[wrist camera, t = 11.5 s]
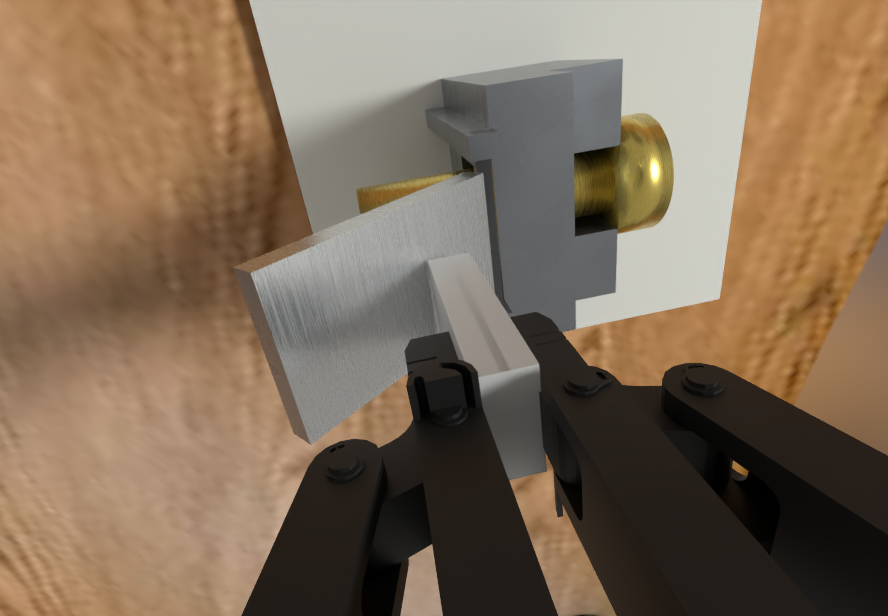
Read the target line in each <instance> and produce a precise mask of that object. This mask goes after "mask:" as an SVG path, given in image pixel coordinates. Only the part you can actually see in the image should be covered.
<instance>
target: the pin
mask: <svg viewBox="0 0 888 616" xmlns="http://www.w3.org/2000/svg"><path fill="white" fill-rule="evenodd" d="M463 172H474V168H470V169H464V170H458V171H453V172H447V173H441V174H436V175H430V176H424V177H419V178H413V179H407V180H401V181H396V182H390V183H384V184H379V185H373V186H367V187H362V188H356V191H357V198H358V204H359V209H360V214H363V213H366V212H368V211H371V210H373V209H376V208H378V207H380V206H383V205H385V204H388V203H390V202H393V201H395V200H397V199H400V198H402V197H405V196H407V195H410V194H412V193H414V192H417V191H419V190H422V189H424V188H427V187H429V186H431V185H434V184H436V183H439V182H441V181H444V180H446V179H448V178H451V177H453V176H456V175H458V174H461V173H463ZM673 183H674V167H673V159H672V153H671V149H670V145H669V142H668V139H667V137H666V134H665V132H664V130H663V129H662V127H661V125H660V124H659V123H658V122H657V120H656V119H654V118H653V117H652V116H650V115H649V114H646V113H636V114H631V115H625V116H621V138H620V145H619V146H613V147H607V148H602V149H596V150H590V151H585V152H579V153H574V201H575V218H577V217H582V216H588V215H593V214H595V215H596V216H598V217H600V218H601V219H603V220H605V221H606V222H608V223H609V224H611V225H613V226H614V227H616V228H618V234H621V233H626V232H631V231H636V230H641V229H646V228H651V227H654V226H655V225H657V224H658V223H659V222H660V221H661V220H662V219H663V217H664V216H665V214H666V212H667V210H668V207H669V204H670V201H671V197H672V192H673Z"/></svg>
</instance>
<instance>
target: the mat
mask: <svg viewBox="0 0 888 616" xmlns="http://www.w3.org/2000/svg"><path fill="white" fill-rule="evenodd" d="M249 1H250V5H251V9H252V12H253V16H254V20H255V23H256V27H257V31H258V34H259V38H260V42H261V45H262V49H263V53H264V56H265V60H266V64H267V67H268V71H269V75H270V78H271V82H272V86H273V89H274V93H275V97H276V100H277V104H278V108H279V111H280V115H281V119H282V122H283V126H284V130H285V133H286V137H287V141H288V144H289V148H290V152H291V155H292V159H293V163H294V166H295V170H296V174H297V177H298V181H299V184H300V188H301V192H302V195H303V199H304V203H305V206H306V210H307V214H308V217H309V221H310V225H311V228H312V232H313V234H315V233H317V232H320V231H322V230H324V229H327V228H329V227H332V226H334V225H337V224H339V223H342V222H344V221H346V220H349V219H351V218H354V217H356V216H359V215H361V214H360V209H359V204H358V198H357V191H356V188H362V187H367V186H373V185H379V184H384V183H390V182H396V181H401V180H407V179H413V178H419V177H424V176H430V175H436V174H441V173H447V172H452V165H451V157H450V149H449V144H448V143H447V142H445V141H444V140H443V139H442V138H440V137H439V136H438V135H437V134H436V133H434V132H433V131H432V130H431V129H429V128H428V127H427V121H426V114H425V110H428V109H434V108H440V107H444V101H443V93H442V85H441V79H442V78H449V77H455V76H461V75H468V74H474V73H480V72H486V71H493V70H499V69H505V68H512V67H518V66H524V65H531V64H537V63H543V62H550V61H556V60H591V59H623V75H622V106H621V116H625V115H631V114H636V113H646V114H649V115H650V116H652V117H653V118H654V119H656V120H657V122H658V123H659V124H660V125H661V127H662V129H663V130H664V132H665V134H666V137H667V139H668V142H669V145H670V149H671V153H672V159H673V167H674V183H673V192H672V197H671V201H670V204H669V207H668V210H667V212H666V214H665V216H664V217H663V219H662V220H661V221H660V222H659V223H658V224H657V225H655V226H654V227H651V228H646V229H641V230H636V231H631V232H626V233H621V234H617V266H616V293H611V294H606V295H601V296H596V297H591V298H586V299H581V300H576V329H578V328H582V327H587V326H592V325H597V324H602V323H606V322H611V321H616V320H621V319H626V318H630V317H635V316H640V315H645V314H650V313H654V312H659V311H664V310H669V309H674V308H678V307H683V306H688V305H693V304H697V303H702V302H707V301H712V300H717V299H719V298H720V291H721V284H722V277H723V270H724V263H725V256H726V249H727V242H728V235H729V228H730V221H731V214H732V207H733V200H734V193H735V186H736V179H737V172H738V165H739V158H740V151H741V144H742V137H743V130H744V123H745V116H746V109H747V102H748V95H749V88H750V81H751V74H752V67H753V60H754V53H755V46H756V39H757V32H758V25H759V18H760V11H761V4H762V0H249Z"/></svg>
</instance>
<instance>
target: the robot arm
mask: <svg viewBox="0 0 888 616" xmlns="http://www.w3.org/2000/svg"><path fill="white" fill-rule="evenodd" d="M428 266H429V272H430V278H431V283H432V289H433V295H434V301H435V306H436V312H437V318H438V324H439V330H440V333H438V334H433V335H429V336H424V337H419V338H414V339H411V340H410V341H409V343H408V345H407V347H406V349H405V351H404V352H405V358H406V364H407V371H408V381H407V386H406V387H407V391H408V396H409V400H410V405H411V409H412V414H413V421H412V423H411V425H410V426H409V428H408V429H407V430H406V431H405V432H404V433H403V434H402V435H401V436H400V437H398V438H397V439H395V440H393V441H392V442H390V443H388V444H386V445H384V446H382V447H380V448H378V447H377V446H376V445H375V444H373V443H371V442H369V441H367V440H361V439H350V440H345V441H340V442H338V443H336V444H333V445H331V446H329V447H327V448H326V449H324V450H323V451H322V452H321V453H319V454H318V455H317V456H316V457H315V458H314V459H313V461H312V462H311V464H310V465H309V467H308V469H307V471H306V473H305V475H304V478H303V480H302V482H301V484H300V487H299V489H298V491H297V493H296V495H295V498H294V500H293V502H292V504H291V507H290V509H289V511H288V513H287V516H286V518H285V520H284V522H283V524H282V527H281V529H280V531H279V533H278V536H277V538H276V540H275V542H274V544H273V547H272V549H271V551H270V553H269V556H268V558H267V560H266V562H265V564H264V567H263V569H262V571H261V573H260V576H259V578H258V580H257V582H256V584H255V587H254V589H253V591H252V593H251V596H250V598H249V600H248V602H247V605H246V607H245V609H244V611H243V613H242V616H400V614H401V608H402V602H403V596H404V590H405V584H406V578H407V572H408V566H409V560H408V558H409V557H411V556H412V555H414V554H416V553H417V552H419V551H421V550H423V549H424V548H426V547H428V546H429V545H431V544H432V545H433V551H434V558H435V565H436V572H437V578H438V585H439V592H440V599H441V605H442V612H443V616H558V614H557V611H556V609H555V606H554V603H553V600H552V598H551V595H550V592H549V589H548V587H547V584H546V581H545V578H544V575H543V573H542V570H541V567H540V564H539V562H538V559H537V556H536V553H535V551H534V548H533V545H532V542H531V540H530V537H529V534H528V531H527V529H526V526H525V523H524V520H523V518H522V515H521V512H520V509H519V506H518V504H517V501H516V498H515V495H514V493H513V490H512V487H511V484H510V482H509V480H512V479H516V478H520V477H524V476H529V475H533V474H537V473H541V472H546V471H547V467H546V454H547V456H548V458H549V460H550V462H551V464H552V467H553V471H554V487H555V503H556V511H557V516H558V517H561V516H563V508H562V504H563V506H564V508H565V510H566V512H567V514H568V516H569V518H570V520H571V522H572V525H573V527H574V529H575V531H576V533H577V535H578V537H579V539H580V541H581V543H582V545H583V547H584V549H585V551H586V553H587V555H588V558H589V560H590V562H591V564H592V566H593V568H594V570H595V572H596V574H597V576H598V578H599V580H600V582H601V584H602V586H603V588H604V591H605V593H606V595H607V597H608V599H609V601H610V603H611V605H612V607H613V609H614V611H615V613H616V615H617V616H888V456H887V455H885V454H883V453H882V452H880V451H877V450H876V449H874V448H872V447H870V446H868V445H866V444H865V443H863V442H861V441H859V440H857V439H855V438H853V437H852V436H850V435H848V434H846V433H844V432H842V431H840V430H838V429H836V428H835V427H833V426H831V425H829V424H827V423H825V422H823V421H821V420H820V419H818V418H816V417H814V416H812V415H810V414H808V413H806V412H805V411H803V410H801V409H799V408H797V407H795V406H793V405H791V404H789V403H788V402H786V401H784V400H782V399H780V398H778V397H776V396H774V395H773V394H771V393H769V392H767V391H765V390H763V389H761V388H759V387H758V386H756V385H754V384H752V383H750V382H748V381H746V380H744V379H742V378H741V377H739V376H737V375H735V374H733V373H731V372H729V371H727V370H724V369H722V368H719V367H717V366H713V365H708V364H702V363H685V364H681V365H677V366H673V367H672V368H670V369H669V370H668V371H666V372H665V374H664V377H663V379H662V386H626V385H622V384H621V383H620V382H619V381H618V380H617V379H616V378H615V377H614V376H613V375H612V374H610V373H609V372H608V371H606V370H603V369H600V368H598V367H594V366H588V365H587V363H586V362H585V361H584V360H583V358H582V357H581V356H580V355H579V353H578V352H577V351H576V350H575V348H574V347H573V346H572V345H571V343H570V342H569V341H568V340H566V337H565V336H564V335H563V333H562V332H561V331H559V328H558V327H557V326H556V324H555V323H554V322H553V321H552V319H550V318H548V317H546V316H544V315H542V314H540V313H538V312H533V313H528V314H523V315H518V316H513V317H509V315H508V314H507V312H506V310H505V309H504V307H503V306H502V304H501V302H500V301H499V299H498V298H497V296H496V294H495V293H494V291H493V290H492V288H491V287H490V285H489V283H488V282H487V280H486V279H485V277H484V275H483V274H482V272H481V271H480V269H479V267H478V266H477V264H476V263H475V261H474V259H473V258H472V256H471V255H470V253H469V252H468V253H463V254H458V255H453V256H448V257H443V258H438V259H433V260H428ZM545 452H546V453H545ZM733 460H734V461H735V462H737V463H738V464H739V465H741V466H742V467H744V468H745V469H747V470H748V471H749V472H748V476H744V475H742V474H740V473H738V472H737V471H735V470H734V469H733V468H732V464H733Z"/></svg>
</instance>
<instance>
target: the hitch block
mask: <svg viewBox="0 0 888 616" xmlns="http://www.w3.org/2000/svg"><path fill="white" fill-rule="evenodd" d="M622 75H623V59H591V60H556V61H550V62H543V63H537V64H531V65H524V66H518V67H512V68H505V69H499V70H493V71H486V72H480V73H474V74H468V75H461V76H455V77H449V78H442V79H441V85H442V93H443V101H444V107H440V108H434V109H428V110H425V114H426V121H427V127H428V128H429V129H431V130H432V131H433V132H434V133H436V134H437V135H438V136H439V137H440V138H442V139H443V140H444V141H445V142H447V143H448V144H449V149H450V157H451V165H452V172H453V171H458V170H464V169H470V168H474V173H483V176H484V186H485V197H486V207H487V217H488V228H489V238H490V248H491V258H492V269H493V279H494V289H495V294H496V296H497V298H498V299H499V301H500V302H501V304H502V306H503V307H504V309H505V310H506V312H507V314H508V315H509V317H513V316H518V315H523V314H528V313H533V312H538V313H540V314H542V315H544V316H546V317H548V318H550V319H552V321H553V322H554V323H555V324H556V326H557V327H558V328H559V331H561V332H565V331H570V330H574V329H576V300H581V299H586V298H591V297H596V296H601V295H606V294H611V293H616V266H617V234H618V228H616V227H614V226H613V225H611V224H609V223H608V222H606V221H605V220H603V219H601V218H600V217H598V216H596V215H595V214H593V215H588V216H582V217H577V218H575V201H574V153H579V152H585V151H590V150H596V149H602V148H607V147H613V146H619V145H620V138H621V106H622Z"/></svg>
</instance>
